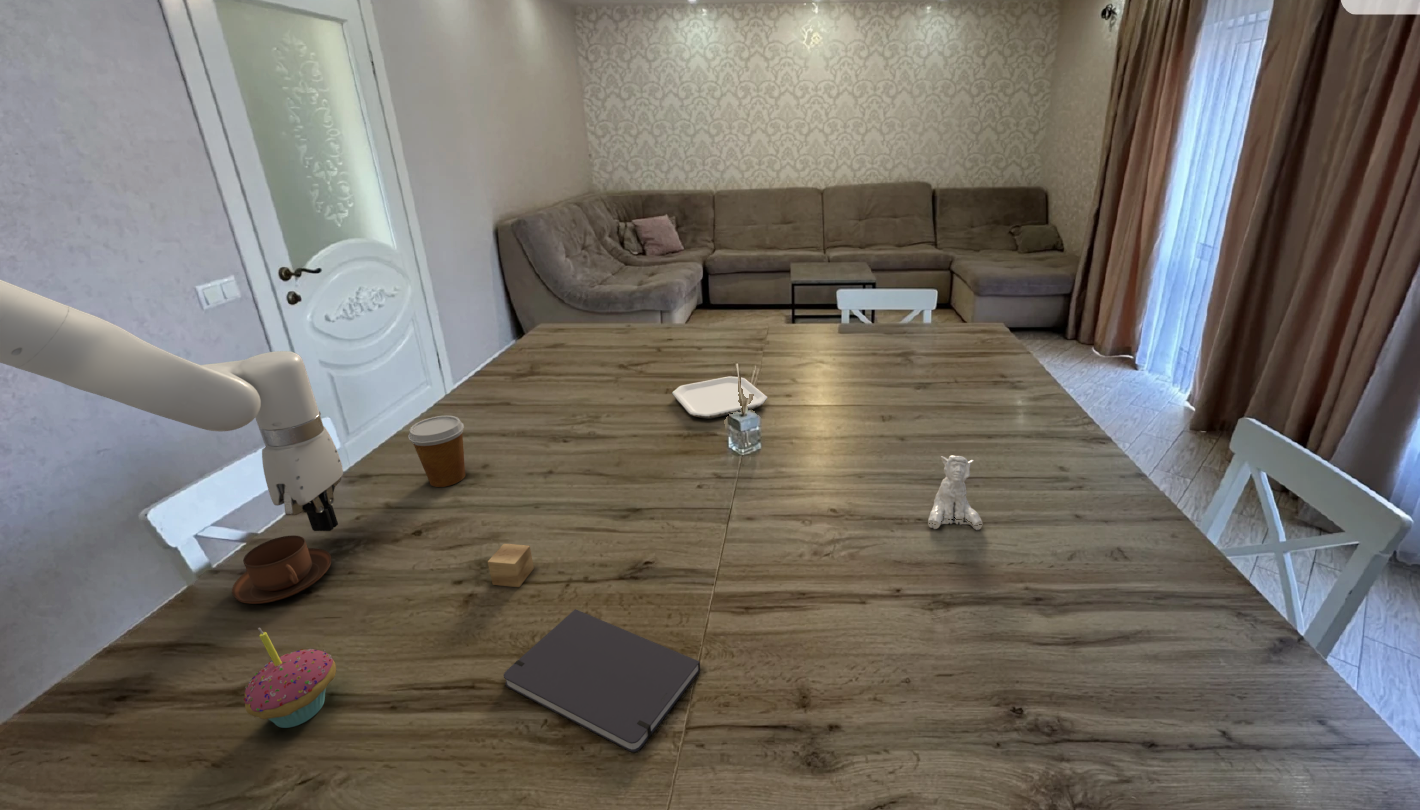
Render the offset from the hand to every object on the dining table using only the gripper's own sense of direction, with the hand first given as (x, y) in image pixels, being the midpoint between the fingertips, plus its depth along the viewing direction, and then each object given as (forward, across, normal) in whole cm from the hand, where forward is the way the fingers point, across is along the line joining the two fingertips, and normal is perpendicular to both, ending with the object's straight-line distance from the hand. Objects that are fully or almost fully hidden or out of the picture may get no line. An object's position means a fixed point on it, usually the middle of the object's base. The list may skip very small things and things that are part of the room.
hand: (325, 528), depth 102 cm
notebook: (+4, +27, +54) cm, 60 cm away
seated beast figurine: (+4, -8, +106) cm, 107 cm away
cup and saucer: (+4, +10, 0) cm, 10 cm away
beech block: (+3, +8, +34) cm, 35 cm away
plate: (+4, -58, +59) cm, 83 cm away
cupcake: (+3, +32, +19) cm, 37 cm away
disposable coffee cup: (+4, -21, +9) cm, 23 cm away
